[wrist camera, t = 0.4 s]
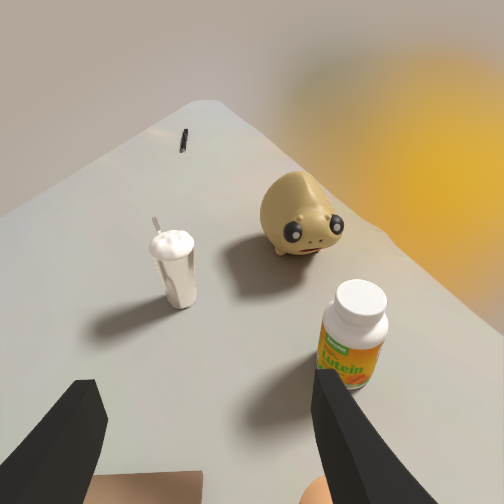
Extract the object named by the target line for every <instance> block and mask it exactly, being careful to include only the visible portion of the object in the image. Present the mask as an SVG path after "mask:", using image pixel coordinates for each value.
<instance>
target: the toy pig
mask: <svg viewBox="0 0 504 504" xmlns="http://www.w3.org/2000/svg"><path fill="white" fill-rule="evenodd" d="M260 221H261V225H262V228H263V231H264V233H265V234H266V236H267V238H268V239H269V240H270V242H271V243H272V244H273V245H274V246H275V252H276V254H277V255H279V256H282V255H284V254H285V253H290V254H295V255H304V254H309V253H312V252H315V251H319V250H321V249H323V248H328V247H330V246H332V245H334V244H335V243H336V242H337V241H338V240H339V239H340V237H341V235H342V231H343V229H344V222H343V220H342V219H341V217H339V216H338V215H335V213H334V210H333V208H332V206H331V204H330V202H329V200H328V198H327V197H326V195H325V193H324V191H323V190H322V188H321V187H320V185H319V184H318V182H317V181H316V180H315V179H314V178H313V177H312V176H311V175H310V174H308V173H306V172H303V171H296V172H291V173H288V174H286V175H284V176H282V177H281V178H279V179H278V180H277V181H276V182H275V183H273V185H272V186H271V187H270V188H269V189H268V191H267V192H266V194H265V196H264V198H263V201H262V204H261V209H260Z"/></svg>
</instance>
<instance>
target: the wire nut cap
mask: <svg viewBox="0 0 504 504" xmlns="http://www.w3.org/2000/svg"><path fill="white" fill-rule="evenodd" d="M299 504H333V503H332V499H331V495H330V491H329V488H328V484H327V480H326V477H325V475H324V476H321V477H319V478H318V479H316V480H315V481H313V482H312V483H311V484H310V485H309V486H308V488H307V489H306V490H305V492H304V493H303V495H302V497H301V500H300V502H299Z"/></svg>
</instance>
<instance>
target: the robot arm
mask: <svg viewBox="0 0 504 504" xmlns="http://www.w3.org/2000/svg"><path fill="white" fill-rule="evenodd" d="M311 413H312V419H313V426H314V432H315V438H316V443H317V447H318V450H319V454H320V458H321V462H322V465H323V469H324V473H325V477H326V480H327V484H328V488H329V491H330V495H331V499H332V503H333V504H438V503H437V502H436V501H435V500H434V499H433V498H432V497H431V496H430V495H429V493H428V492H427V491H426V490H425V489H424V488H423V487H422V486H421V485H420V484H419V482H418V481H417V480H416V479H415V478H414V477H413V476H412V475H411V473H410V472H409V471H408V470H407V469H406V468H405V466H404V465H403V464H402V463H401V462H400V460H399V459H398V458H397V457H396V455H395V454H394V453H393V452H392V450H391V449H390V448H389V447H388V445H387V444H386V443H385V442H384V440H383V439H382V438H381V436H380V435H379V434H378V432H377V431H376V430H375V428H374V427H373V425H372V424H371V423H370V421H369V420H368V419H367V417H366V416H365V414H364V413H363V412H362V410H361V409H360V407H359V406H358V404H357V403H356V401H355V400H354V398H353V397H352V395H351V394H350V392H349V391H348V389H347V387H346V386H345V384H344V383H343V381H342V379H341V378H340V376H339V374H338V372H337V371H336V370H335V369H316V370H315V378H314V387H313V395H312V404H311ZM107 423H108V417H107V414H106V411H105V408H104V405H103V403H102V400H101V397H100V394H99V391H98V388H97V385H96V382H95V379H92V380H75V381H74V382H73V383H72V384H71V386H70V387H69V388H68V389H67V390H66V391H65V393H64V394H63V395H62V396H61V397H60V399H59V400H58V401H57V402H56V403H55V404H54V406H53V407H52V408H51V409H50V410H49V412H48V413H47V414H46V415H45V416H44V417H43V419H42V420H41V421H40V422H39V423H38V424H37V425H36V427H35V428H34V429H33V430H32V431H31V432H30V433H29V435H28V436H27V437H26V438H25V439H24V440H23V441H22V442H21V444H20V445H19V446H18V447H17V448H16V449H15V450H14V451H13V452H12V453H11V454H10V456H9V457H8V458H7V459H6V460H5V461H4V462H3V463H2V464H1V465H0V504H83V502H84V499H85V497H86V494H87V491H88V488H89V485H90V482H91V479H92V477H93V474H94V471H95V468H96V465H97V462H98V459H99V456H100V453H101V449H102V445H103V441H104V436H105V432H106V427H107Z"/></svg>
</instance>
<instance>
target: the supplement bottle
mask: <svg viewBox="0 0 504 504" xmlns="http://www.w3.org/2000/svg"><path fill="white" fill-rule="evenodd" d="M386 305H387V299H386V296H385V294H384V292H383V291H382V290H381V289H380V288H379V287H378V286H376V285H375V284H373V283H371V282H368V281H364V280H357V279H355V280H348V281H345V282H343V283H342V284H341V285H340V286H339V287H338V288H337V290H336V294H335V298H334V300H332V301H331V302H330V303H329V304H328V305H327V307H326V308H325V311H324V315H323V320H322V325H321V332H320V338H319V344H318V350H317V356H316V363H317V368H318V369H335V370H336V371H337V372H338V374H339V376H340V378H341V379H342V381H343V383H344V384H345V386H346V387H347V389H348V390H351V389H357V388H360V387H362V386H364V385H365V384H366V383H367V382H368V381H369V380H370V378H371V376H372V374H373V371H374V368H375V365H376V363H377V360H378V357H379V354H380V351H381V349H382V346H383V343H384V340H385V338H386V335H387V331H388V320H387V317H386V315H385V309H386Z"/></svg>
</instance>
